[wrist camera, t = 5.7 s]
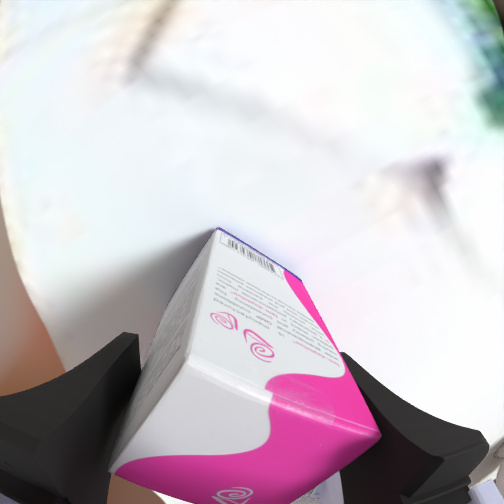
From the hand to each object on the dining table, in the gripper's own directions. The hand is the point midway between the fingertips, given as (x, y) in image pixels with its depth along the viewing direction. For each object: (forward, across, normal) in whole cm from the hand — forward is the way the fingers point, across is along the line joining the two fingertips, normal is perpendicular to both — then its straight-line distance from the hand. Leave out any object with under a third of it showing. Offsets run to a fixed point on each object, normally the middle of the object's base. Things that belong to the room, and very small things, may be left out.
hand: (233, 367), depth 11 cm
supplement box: (+6, 0, 0) cm, 6 cm away
